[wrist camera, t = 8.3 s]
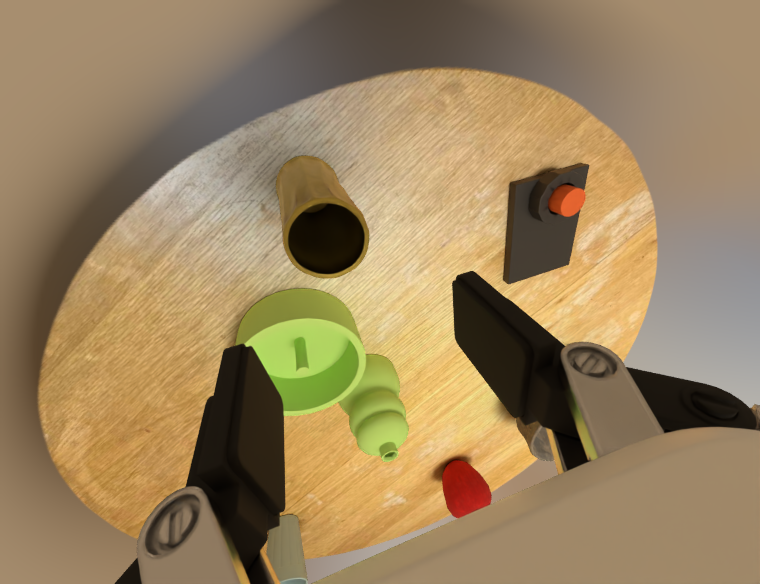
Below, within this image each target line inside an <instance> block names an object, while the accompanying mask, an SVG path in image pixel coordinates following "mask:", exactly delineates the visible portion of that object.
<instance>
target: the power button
mask: <svg viewBox="0 0 760 584" xmlns="http://www.w3.org/2000/svg"><path fill="white" fill-rule="evenodd" d="M584 201H585V192H584V190H582V189H580V188H577V187H573V186H569V185H561V186H559V187H557V188H556V189H555V190H554V191H553V193H552V194H551V196H550V198H549V200H548V207H549V209H550V210H551V211H552V212H555V213H558V214H560V215H563V216H566V217H569V216H572V215H574V214H576V213H577V212H578V211H579V210H580V209H581V207H582V206H583V204H584Z"/></svg>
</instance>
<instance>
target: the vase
mask: <svg viewBox="0 0 760 584" xmlns="http://www.w3.org/2000/svg"><path fill="white" fill-rule="evenodd" d="M276 192H277V196H278V199H279V205H280V214H281V221H282V231H283V245H284V248H285V251H286V253H287V255H288V257H289V259H290V261H291V262H292V263H293V265H294V266H295V267H297V268H298V269H299V270H300V271H302V272H304V273H306V274H309V275H311V276H314V277H318V278H337V277H340V276H342V275H344V274H346V273H348V272H350V271H352V270H353V269H355V268H356V267H357V266H358V265H359V264H360V263H361V261H362V260H363V258H364V257H365V255H366V252H367V249H368V244H369V229H368V227H367V224H366V221H365V219H364V216H363V214H362V212H361V211H360V210H359V209H358V208H357V206H356V205H355V204H354V202H353V201H352V200H351V199H350V198H349V196H348V194H347V193H346V191H345V190H344V188H343V187H342V186H341V185H340V184H339V181H338V178H337V176H336V174H335V172H334V170H333V169H332V168H331V167H330V166H329V165H328V164H327V163H326V162H324V161H323V160H321V159H319V158H317V157H313V156H298V157H295V158H293V159H291V160H289V161H288V162H287V163H285V164H284V165H283V167H282V168H281V169H280V171H279V173H278V176H277V180H276Z"/></svg>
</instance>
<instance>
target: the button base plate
mask: <svg viewBox="0 0 760 584" xmlns="http://www.w3.org/2000/svg"><path fill="white" fill-rule="evenodd" d="M588 169H589V165H588V164H583V163H581V164H577V165H573V166H570V167H566V168H563V169H562V168H560V169H556V170H553V171H549V172H548V173H545V174H541V175H537V176H534V177H530V178H527V179H523V180H519V181H516V182H512V183H510V193H509V208H508V223H507V237H506V252H505V266H504V281H505V282H506V283H507V284H511V283H514V282H517V281H520V280H524V279H527V278H530V277H533V276H536V275H539V274H542V273H545V272H548V271H551V270H554V269H557V268H560V267H563V266H566V265H569V261H570V256H571V251H572V247H573V242H574V237H575V232H576V227H577V222H578V218H579V213H580V210H579V211H578V212H577V213H576V214H574V215H572V216H569V217H566V216H563V215H560V214H558V213H555V212H552V211H551V210H550V209H549V207H548V200H549V198H550V196H551V194H552V193H553V191H554V190H555V189H556V188H557V187H559V186H561V185H569V186H573V187H577V188H580V189H582V190H584V189H585V184H586V179H587V174H588Z"/></svg>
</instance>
